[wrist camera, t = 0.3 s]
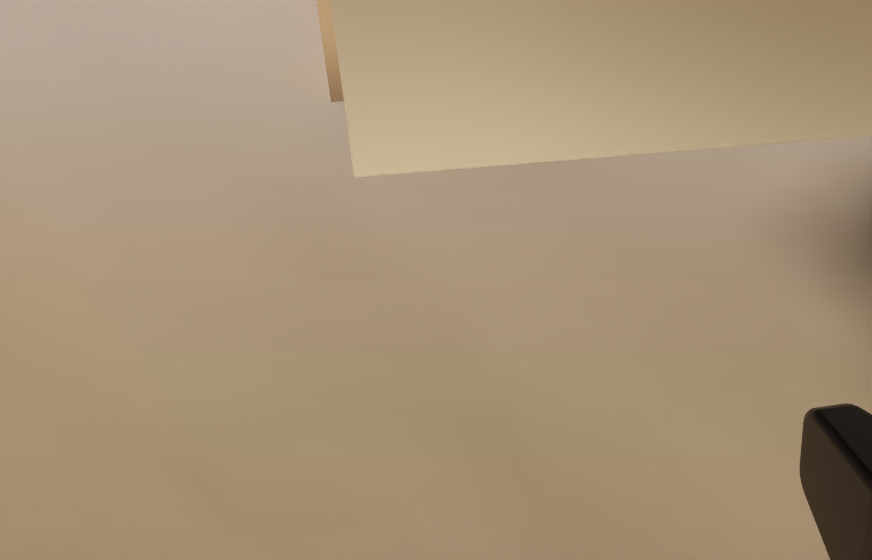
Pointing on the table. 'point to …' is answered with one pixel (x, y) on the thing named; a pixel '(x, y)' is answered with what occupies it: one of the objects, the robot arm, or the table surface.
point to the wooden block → (595, 78)
